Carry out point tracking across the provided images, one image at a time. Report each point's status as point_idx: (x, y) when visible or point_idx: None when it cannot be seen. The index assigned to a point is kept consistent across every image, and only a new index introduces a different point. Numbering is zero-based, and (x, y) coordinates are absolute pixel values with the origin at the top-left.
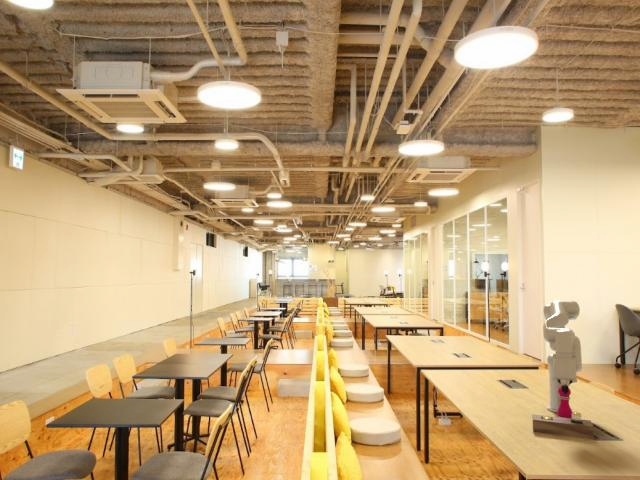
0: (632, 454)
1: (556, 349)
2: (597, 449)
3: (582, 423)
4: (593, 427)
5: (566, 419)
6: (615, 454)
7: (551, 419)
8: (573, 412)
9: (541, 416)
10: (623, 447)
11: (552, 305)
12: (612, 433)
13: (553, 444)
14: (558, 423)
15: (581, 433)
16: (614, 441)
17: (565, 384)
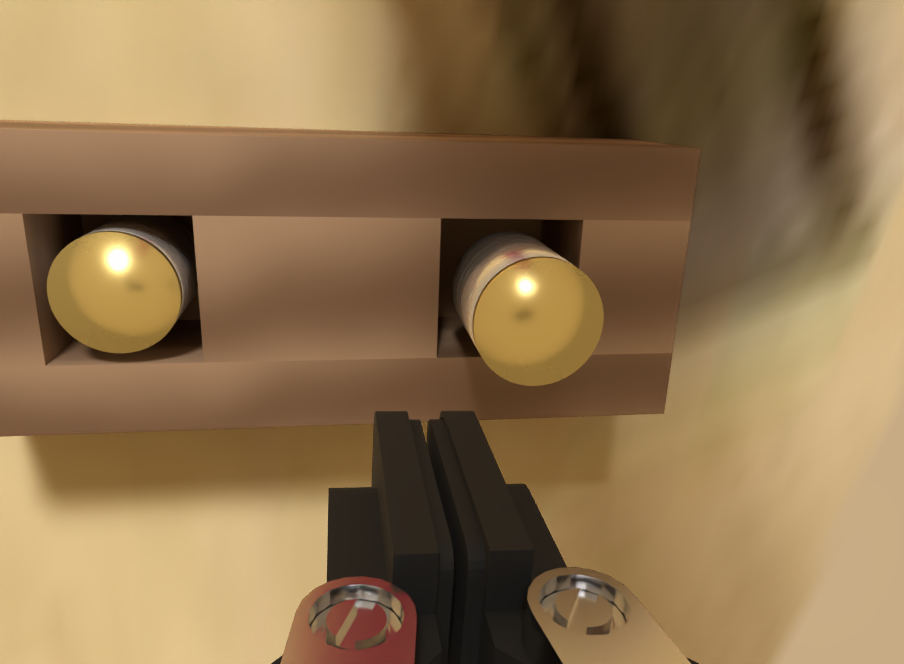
0: (797, 590)
1: None
2: None
3: None
4: (659, 407)
5: (389, 226)
6: (676, 643)
7: (182, 302)
8: (504, 288)
9: (25, 211)
10: (793, 462)
11: None
12: (856, 54)
13: (229, 641)
14: (274, 421)
15: None
16: (778, 330)
17: (488, 633)
